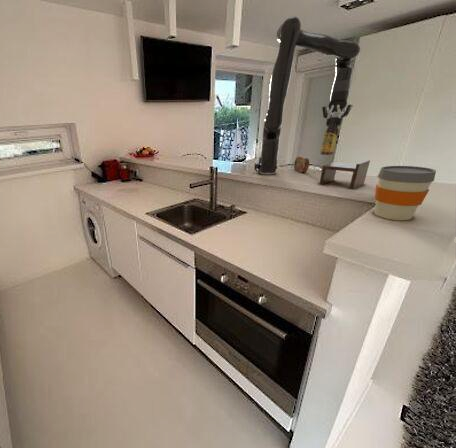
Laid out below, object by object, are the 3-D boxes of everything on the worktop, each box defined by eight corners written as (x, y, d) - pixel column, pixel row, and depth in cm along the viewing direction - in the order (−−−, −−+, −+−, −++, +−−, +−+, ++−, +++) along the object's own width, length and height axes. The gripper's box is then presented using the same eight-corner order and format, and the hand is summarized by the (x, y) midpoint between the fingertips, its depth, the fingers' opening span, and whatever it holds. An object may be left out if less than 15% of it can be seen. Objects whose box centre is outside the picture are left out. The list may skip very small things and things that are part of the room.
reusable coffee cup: (357, 210, 86) (369, 167, 80) (392, 207, 86) (405, 164, 81) (392, 224, 74) (408, 174, 68) (431, 220, 75) (451, 171, 69)
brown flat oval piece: (293, 169, 156) (295, 155, 153) (298, 168, 156) (300, 155, 152) (302, 173, 142) (305, 159, 139) (308, 173, 142) (311, 158, 139)
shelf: (319, 184, 120) (323, 161, 116) (330, 179, 126) (335, 158, 122) (353, 189, 109) (359, 164, 105) (363, 184, 115) (370, 160, 111)
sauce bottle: (317, 154, 141) (324, 117, 134) (324, 153, 144) (331, 116, 136) (329, 155, 136) (336, 116, 128) (336, 154, 138) (344, 116, 131)
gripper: (359, 88, 123) (351, 125, 130) (328, 92, 135) (322, 125, 141) (353, 88, 120) (345, 126, 126) (321, 92, 131) (315, 126, 137)
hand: (333, 125), depth 134 cm, fingers closed on sauce bottle, 4 cm apart
